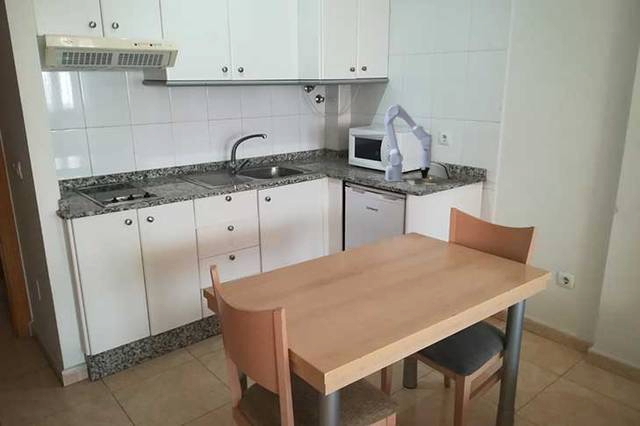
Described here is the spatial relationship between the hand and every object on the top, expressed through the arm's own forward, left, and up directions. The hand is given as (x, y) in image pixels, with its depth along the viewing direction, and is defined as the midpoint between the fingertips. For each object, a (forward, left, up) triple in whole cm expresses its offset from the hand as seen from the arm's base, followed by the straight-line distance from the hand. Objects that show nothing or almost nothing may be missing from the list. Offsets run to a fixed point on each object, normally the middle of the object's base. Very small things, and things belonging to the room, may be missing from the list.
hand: (424, 179), depth 283 cm
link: (-1, -2, -1) cm, 2 cm away
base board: (-2, -2, -2) cm, 3 cm away
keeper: (-6, -5, -2) cm, 8 cm away
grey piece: (+15, +16, -2) cm, 22 cm away
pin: (+3, -4, +1) cm, 5 cm away
